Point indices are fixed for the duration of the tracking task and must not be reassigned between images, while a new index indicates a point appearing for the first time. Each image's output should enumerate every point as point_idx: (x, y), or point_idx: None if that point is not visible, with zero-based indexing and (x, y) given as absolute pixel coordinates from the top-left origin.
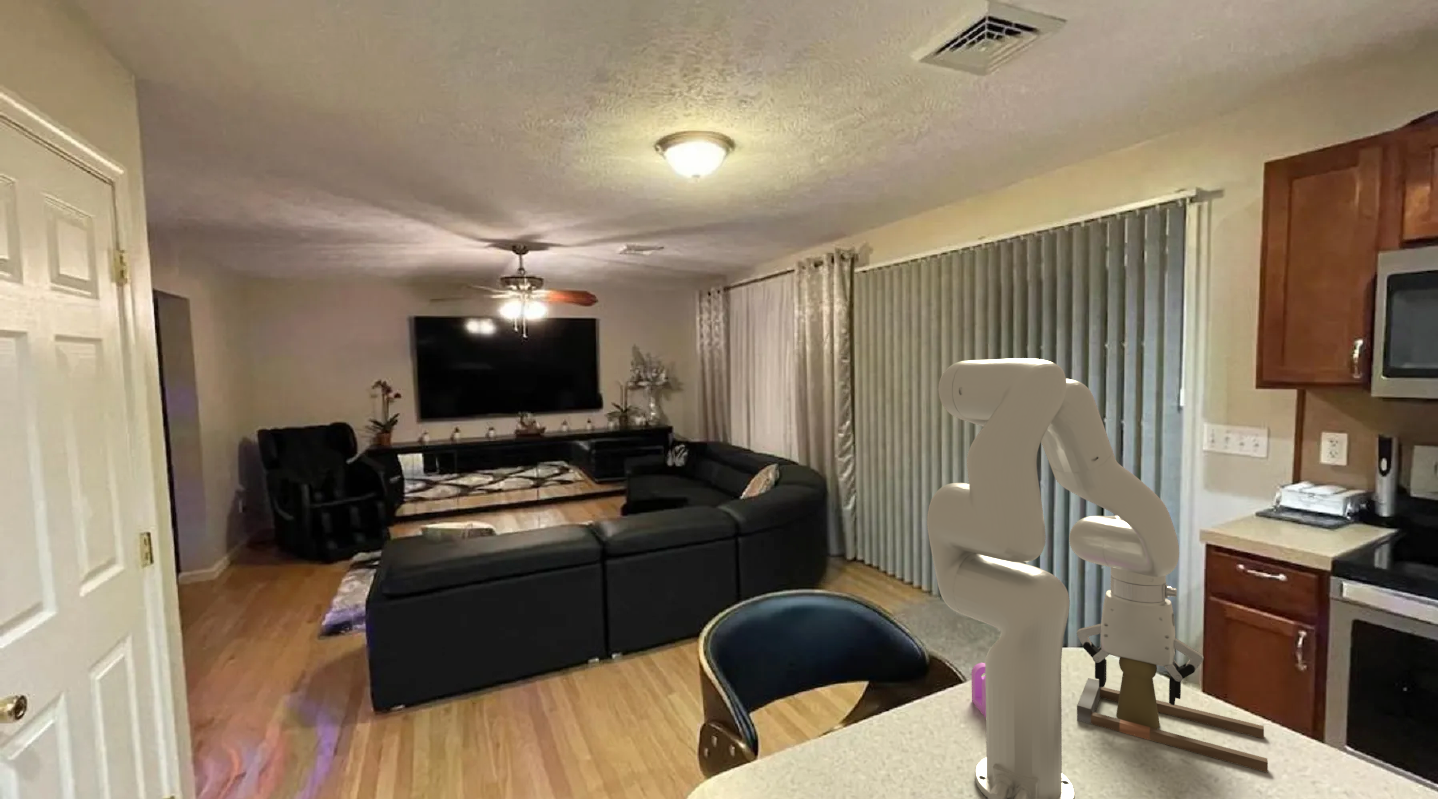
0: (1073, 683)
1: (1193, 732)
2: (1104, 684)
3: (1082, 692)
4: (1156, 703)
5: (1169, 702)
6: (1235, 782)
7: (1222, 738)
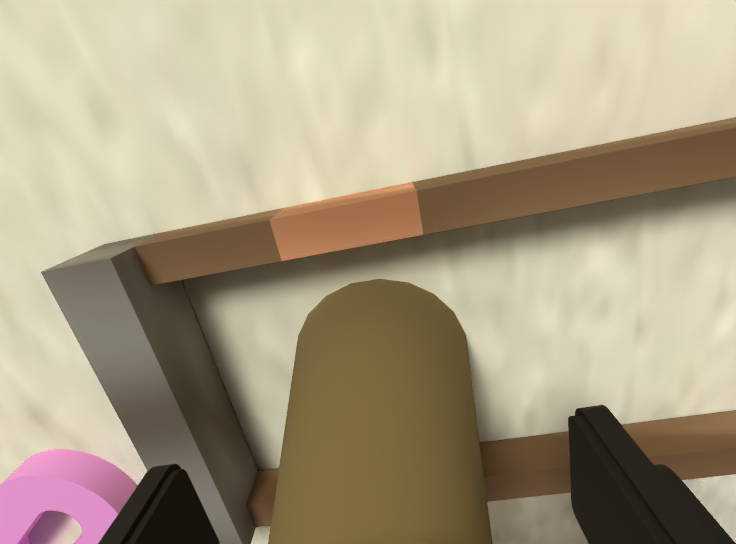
0: (3, 203)
1: (599, 302)
2: (209, 537)
3: (138, 451)
4: (474, 407)
5: (578, 518)
6: (724, 529)
7: (720, 268)
